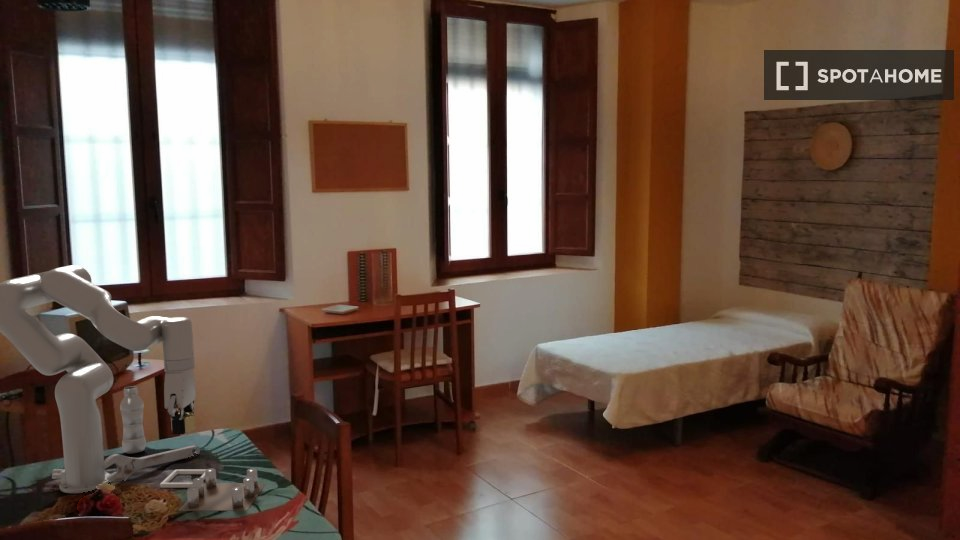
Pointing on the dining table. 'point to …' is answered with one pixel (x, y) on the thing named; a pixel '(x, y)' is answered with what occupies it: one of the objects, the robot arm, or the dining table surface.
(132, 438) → the plastic bottle
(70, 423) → the robot arm
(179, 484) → the white square frame
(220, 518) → the dining table surface
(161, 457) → the wrench
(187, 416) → the nut
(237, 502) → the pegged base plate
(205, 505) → the board
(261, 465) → the dining table surface
